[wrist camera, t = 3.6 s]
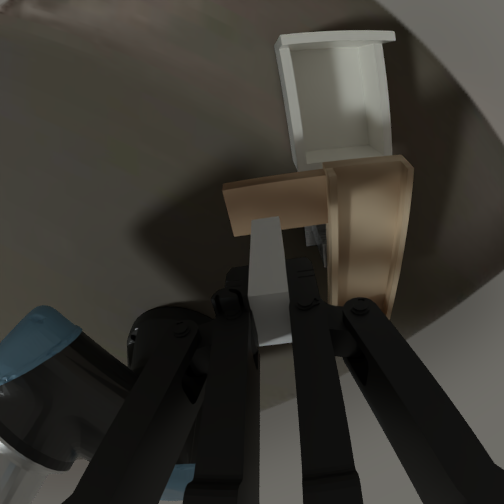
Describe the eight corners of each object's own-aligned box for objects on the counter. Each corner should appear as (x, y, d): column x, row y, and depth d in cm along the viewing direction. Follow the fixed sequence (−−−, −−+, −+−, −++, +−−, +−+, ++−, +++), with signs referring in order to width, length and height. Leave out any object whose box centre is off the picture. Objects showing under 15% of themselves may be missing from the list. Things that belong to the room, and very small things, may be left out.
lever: (377, 299, 34) (388, 334, 30) (260, 316, 35) (262, 354, 31) (391, 144, 22) (417, 172, 19) (223, 165, 24) (218, 198, 20)
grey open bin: (292, 159, 31) (303, 185, 24) (274, 45, 26) (280, 35, 19) (374, 150, 30) (406, 173, 24) (362, 39, 25) (394, 31, 18)
